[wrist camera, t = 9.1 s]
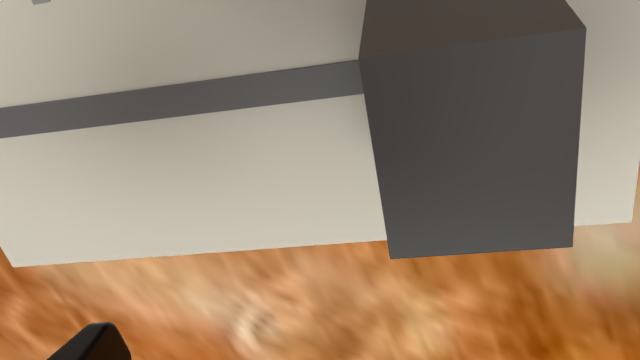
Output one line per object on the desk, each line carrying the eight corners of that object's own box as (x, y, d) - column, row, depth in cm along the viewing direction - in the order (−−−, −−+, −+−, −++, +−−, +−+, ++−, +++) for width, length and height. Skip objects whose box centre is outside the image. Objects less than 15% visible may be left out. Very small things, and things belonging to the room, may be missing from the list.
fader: (391, 157, 17) (390, 258, 14) (367, -12, 15) (358, 58, 11) (533, 142, 16) (572, 246, 13) (535, -38, 14) (586, 27, 10)
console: (51, 219, 25) (12, 269, 22) (-114, -80, 18) (-196, -57, 16) (603, 169, 21) (632, 224, 18) (642, -243, 14) (695, -249, 12)
